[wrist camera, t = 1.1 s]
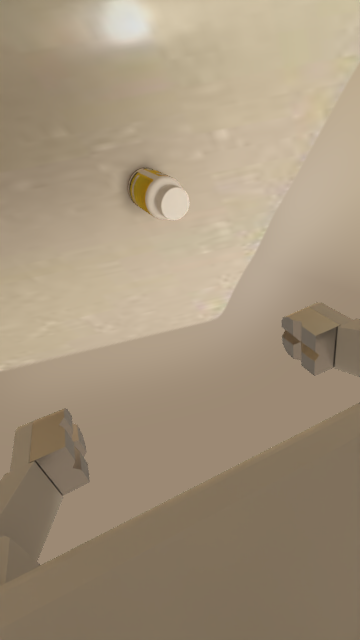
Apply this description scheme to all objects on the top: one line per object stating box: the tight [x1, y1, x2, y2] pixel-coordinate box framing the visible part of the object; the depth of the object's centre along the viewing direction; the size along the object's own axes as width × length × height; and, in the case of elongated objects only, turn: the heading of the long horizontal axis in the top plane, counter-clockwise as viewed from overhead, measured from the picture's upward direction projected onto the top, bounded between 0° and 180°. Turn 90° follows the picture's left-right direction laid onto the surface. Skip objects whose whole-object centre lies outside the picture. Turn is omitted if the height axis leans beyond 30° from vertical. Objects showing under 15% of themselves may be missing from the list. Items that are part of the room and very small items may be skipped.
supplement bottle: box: [128, 168, 190, 221], centre depth 41 cm, size 5×5×10 cm
